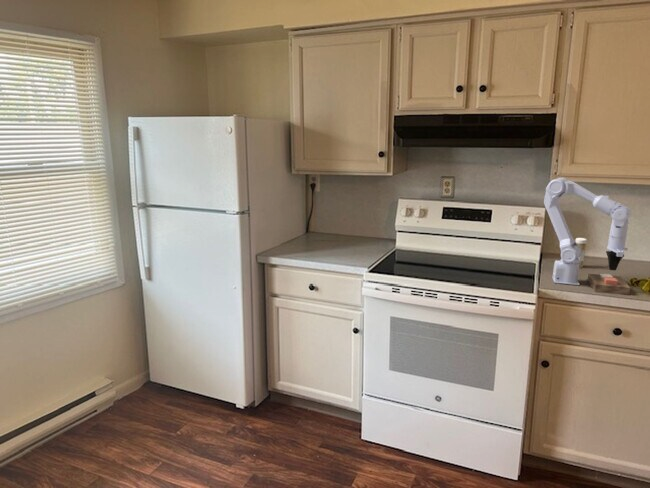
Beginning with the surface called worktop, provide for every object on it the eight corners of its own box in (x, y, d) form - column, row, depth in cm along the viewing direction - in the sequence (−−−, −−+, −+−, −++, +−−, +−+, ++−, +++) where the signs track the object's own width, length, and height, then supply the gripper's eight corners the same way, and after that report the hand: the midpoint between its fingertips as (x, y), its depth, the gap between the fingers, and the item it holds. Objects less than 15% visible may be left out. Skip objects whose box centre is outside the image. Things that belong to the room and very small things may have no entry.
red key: (605, 286, 193) (606, 280, 193) (603, 282, 197) (604, 277, 196) (616, 287, 192) (617, 281, 191) (614, 283, 196) (615, 278, 195)
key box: (594, 291, 193) (596, 284, 192) (587, 280, 206) (588, 273, 206) (629, 295, 189) (630, 287, 188) (619, 283, 203) (620, 276, 202)
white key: (601, 282, 200) (601, 276, 200) (598, 279, 204) (599, 273, 203) (611, 283, 199) (612, 277, 199) (609, 280, 203) (610, 274, 202)
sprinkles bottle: (573, 264, 229) (577, 237, 226) (584, 266, 226) (588, 238, 223) (570, 266, 226) (574, 238, 223) (581, 268, 223) (585, 240, 220)
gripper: (634, 241, 182) (628, 276, 185) (624, 233, 195) (618, 265, 198) (613, 240, 184) (608, 274, 187) (604, 232, 197) (599, 264, 201)
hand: (612, 269), depth 193 cm, fingers closed
